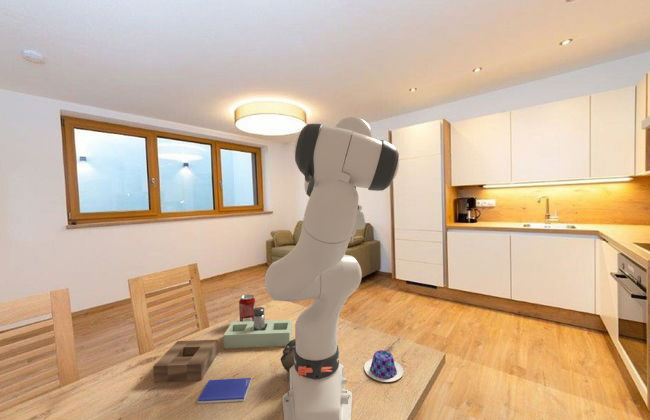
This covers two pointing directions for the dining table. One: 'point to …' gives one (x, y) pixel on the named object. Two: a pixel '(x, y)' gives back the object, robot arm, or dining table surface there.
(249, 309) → the soda can
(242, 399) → the blue book
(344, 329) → the dining table surface
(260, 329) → the salt shaker
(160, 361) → the socket block
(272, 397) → the dining table surface
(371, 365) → the pudding
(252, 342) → the tool rack
